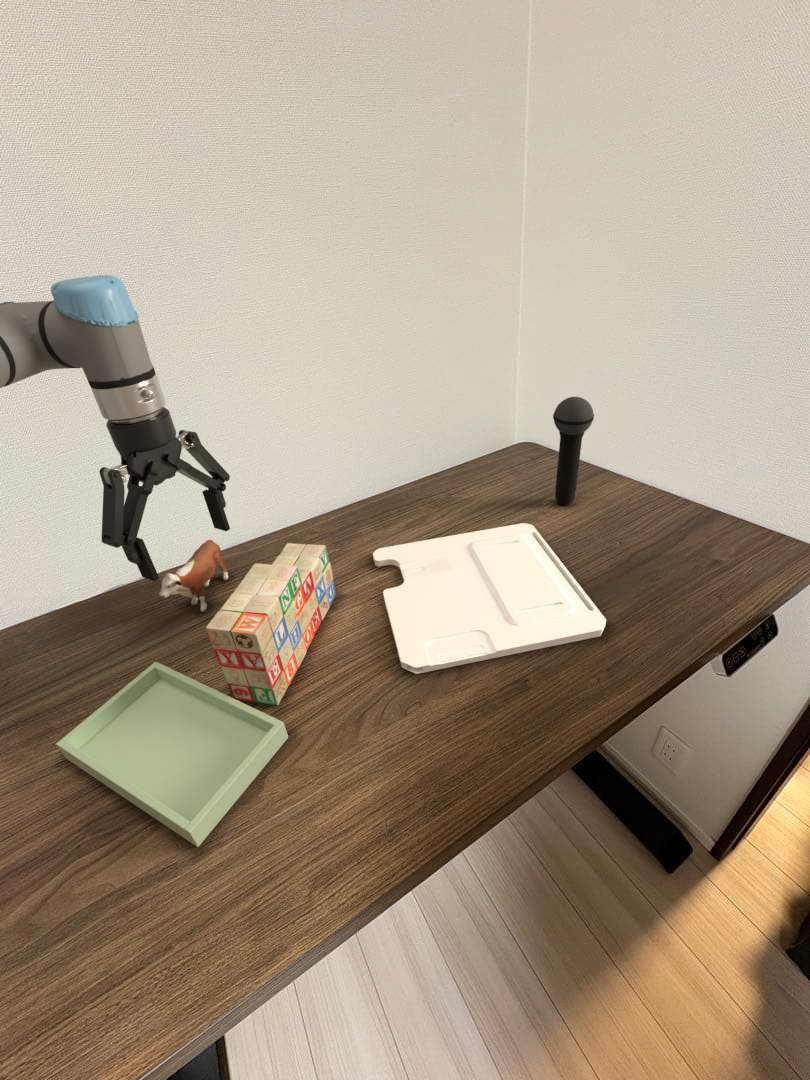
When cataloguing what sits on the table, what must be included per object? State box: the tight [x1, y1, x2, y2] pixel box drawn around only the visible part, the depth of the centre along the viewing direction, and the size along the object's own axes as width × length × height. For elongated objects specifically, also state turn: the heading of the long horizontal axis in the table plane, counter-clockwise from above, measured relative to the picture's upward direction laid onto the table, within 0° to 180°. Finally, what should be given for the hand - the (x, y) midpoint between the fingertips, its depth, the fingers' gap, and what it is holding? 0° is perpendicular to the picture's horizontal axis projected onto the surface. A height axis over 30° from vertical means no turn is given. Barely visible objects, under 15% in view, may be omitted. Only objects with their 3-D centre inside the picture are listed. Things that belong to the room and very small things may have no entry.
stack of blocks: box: [205, 542, 337, 707], centre depth 70 cm, size 21×6×12 cm, turn 167°
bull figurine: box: [158, 539, 229, 613], centre depth 81 cm, size 4×13×8 cm, turn 166°
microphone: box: [552, 396, 595, 506], centre depth 93 cm, size 7×7×20 cm
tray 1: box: [55, 661, 289, 848], centre depth 60 cm, size 22×14×3 cm, turn 61°
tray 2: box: [372, 522, 607, 675], centre depth 79 cm, size 28×28×2 cm
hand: (188, 551), depth 78 cm, fingers open, 13 cm apart
